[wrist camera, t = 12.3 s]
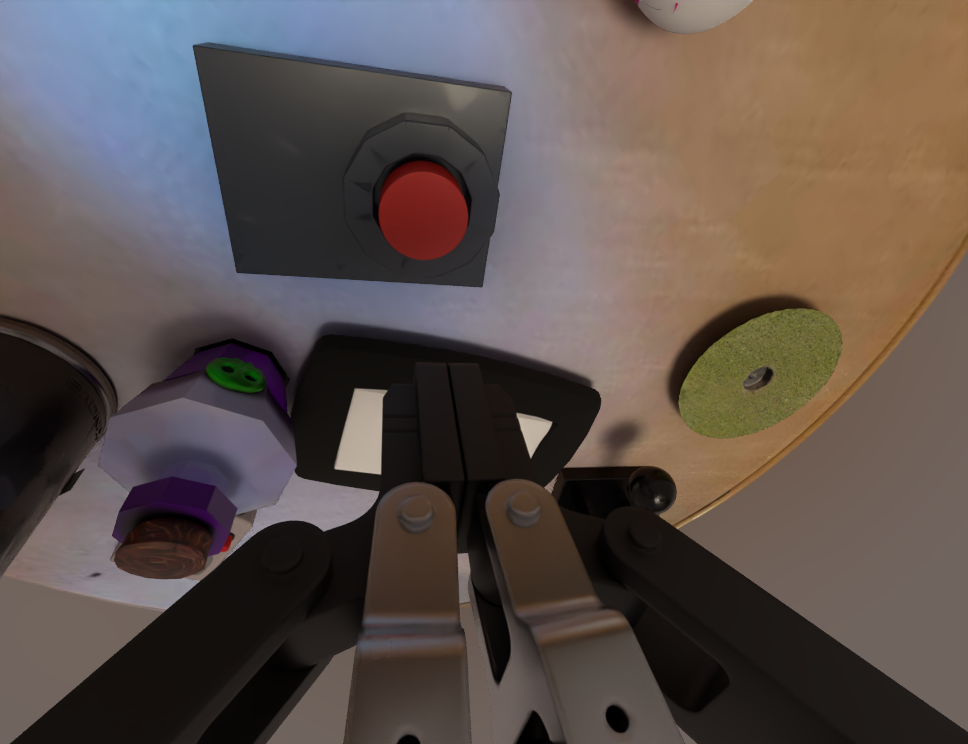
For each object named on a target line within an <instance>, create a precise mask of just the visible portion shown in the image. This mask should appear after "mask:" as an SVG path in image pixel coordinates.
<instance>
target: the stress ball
mask: <svg viewBox="0 0 968 744" xmlns="http://www.w3.org/2000/svg"><path fill="white" fill-rule="evenodd" d="M752 1H753V0H635V2H636V3H637V5H638V7H639V8H640V10H641V11H642V12H643V13H644V15H645V16H646V17H647V18H648V19H649V20H650V21H652V22H653V23H654V24H656V25H657V26H659V27H660V28H662V29H664V30H667V31H670V32H673V33H679V34H693V33H699V32H703V31H707V30H709V29H712V28H714V27H717V26H719V25H721V24H722V23H724V22H726V21H728V20H729V19H731V18H732V17H734V16H735V15H737V14H738V13H739V12H741V11H742V10H743V9H744V8H745V7H747V6H748V5H749V4H750V3H751V2H752Z"/></svg>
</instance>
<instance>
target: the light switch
mask: <svg viewBox="0 0 968 744" xmlns="http://www.w3.org/2000/svg"><path fill="white" fill-rule="evenodd" d="M415 362H422V363H446V366H447V363H477V364H478V365H479V368H480V372H481V376H482V380H483V384H499V385H500V386H501V387H502V388H503V389H504V391H505V392H506V393H507V394H508V395H509V396H510V397H511V398H512V401H513V404H514V407H515V410H516V414H517V418H518V420H519V423H520V426H521V431H522V433H523V436H524V439H525V442H526V445H527V448H528V452H529V455H530V458H531V461H532V464H533V468H534V471H535V474H536V477H537V480H538V483H539V485H540V486H542V487H543V488H544V487H545V486H546V485H547V484H548V483H549V482H551V481H552V480H553V478H554V477H555V476H556V475H557V474H558V473H559V472H560V471H561V470H562V469H563V467H564V466H565V465H566V464H567V463H568V462H569V461H570V459H571V458H572V457H573V455H574V454H575V452H576V451H577V449H578V448H579V446H580V445H581V443H582V442H583V440H584V439H585V437H586V436H587V434H588V432H589V430H590V428H591V426H592V424H593V422H594V420H595V418H596V416H597V414H598V412H599V410H600V406H601V397H600V394H599V392H598V391H596V390H595V389H593V388H590V387H587V386H584V385H581V384H578V383H575V382H573V381H570V380H567V379H564V378H560V377H557V376H553V375H550V374H546V373H543V372H540V371H536V370H533V369H529V368H526V367H522V366H518V365H514V364H510V363H505V362H501V361H497V360H493V359H489V358H485V357H480V356H475V355H470V354H465V353H459V352H454V351H449V350H444V349H438V348H433V347H426V346H419V345H413V344H406V343H399V342H392V341H386V340H379V339H369V338H360V337H350V336H340V335H325V336H322V337H321V338H320V339H319V340H318V342H317V344H316V346H315V348H314V350H313V352H312V354H311V356H310V358H309V361H308V363H307V365H306V367H305V369H304V371H303V373H302V375H301V379H300V383H299V386H298V390H297V394H296V397H295V401H294V405H293V408H292V412H291V419H292V421H293V425H294V437H295V450H296V462H297V466H296V468H295V473H296V474H297V475H298V476H299V477H301V478H304V479H309V480H314V481H319V482H325V483H330V484H335V485H341V486H348V487H354V488H361V489H367V490H374V491H380V487H381V451H382V408H383V397H384V395H385V394H386V392H387V391H388V389H389V388H390V386H391V385H392V383H394V384H413V379H414V365H415Z"/></svg>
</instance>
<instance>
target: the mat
mask: <svg viewBox="0 0 968 744" xmlns="http://www.w3.org/2000/svg"><path fill="white" fill-rule="evenodd" d="M841 335H842V334H841V332H840V329H839V326H838V325H837V324H836V323H835V322H834V320H833V319H832V318H831V317H829V316H828V315H827V314H825V313H822V312H820V311H816V310H813V309H806V310H805V308H803V309H800V308H799V309H785V310H782V311H775V312H772V313H767V314H764V315H762V316H760V317H757V318H754V319H751V320H750V321H748V322H747V323H745V324H743V325H741V326H739V327H737V328H735V329H734V330H732V331H731V332H729V333H728V334H726V335H725V336H723V337H722V338H721V339H720V340H719V341H717V342H715V343H714V344H713V345H712V346H711V347H709V348H708V350H707V351H706V352H705V353H704V354H703V355H702V356H701V357H699V359H698V361H697V362H696V363H695V365H693V367H692V369H691V370H690V372H689V373H688V375H687V377H686V379H685V380H684V383H683V386H682V388H681V391H680V395H679V398H680V399H679V410H680V413H681V415H682V418H683V420H684V422H685V423H686V424H687V426H689V428H691V429H692V430H693V431H695V432H697V433H699V434H701V435H703V436H707V437H713V438H734V437H737V436H744V435H749V434H752V433H756V432H758V431H759V430H764V429H765V428H769V427H770V426H772V425H773V424H777V423H778V422H780V421H782V420H783V419H785V418H787V417H788V416H791V414H793V413H794V412H795V411H797V410H798V409H799V408H801V407H802V406H803V405H805V404H806V403H807V402H808V400H811V398H812V397H814V395H815V394H817V393H818V392H819V391H820V390H821V388H822V387H823V386H824V385H825V384H826V383H827V382H828V380H829V378H830V377H831V376H832V375H831V374H832V373H833V372H834V369H835V367H836V365H837V362H838V359H839V356H840V354H841V350H842V348H841V344H842V337H841Z"/></svg>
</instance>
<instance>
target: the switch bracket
mask: <svg viewBox="0 0 968 744" xmlns="http://www.w3.org/2000/svg"><path fill="white" fill-rule="evenodd" d="M639 468H641V467H618V468H573V469H562V470H561V471H560V473H559V476H558V479H557V482H556V485H555V487H554V490H553V493H552V496H553V497H554V499H555V500H556V502H557V504H558V505H560V506H562V507H563V508H566V509H568V510H570V511H574V512H577V513H581V514H585V515H589V516H593V517H597V518H601V519H605V520H606V518H607V516H608V515H609V514H610V513H611V512H612V511H613V510H615V509H617V508H619V507H623V506H634V505H633V504H632V503H631V501H630V499H629V497H628V494H627V483H628V480H629V478H630V476H631V475H632V473H633V472H634V471H636V470H637V469H639Z"/></svg>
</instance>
